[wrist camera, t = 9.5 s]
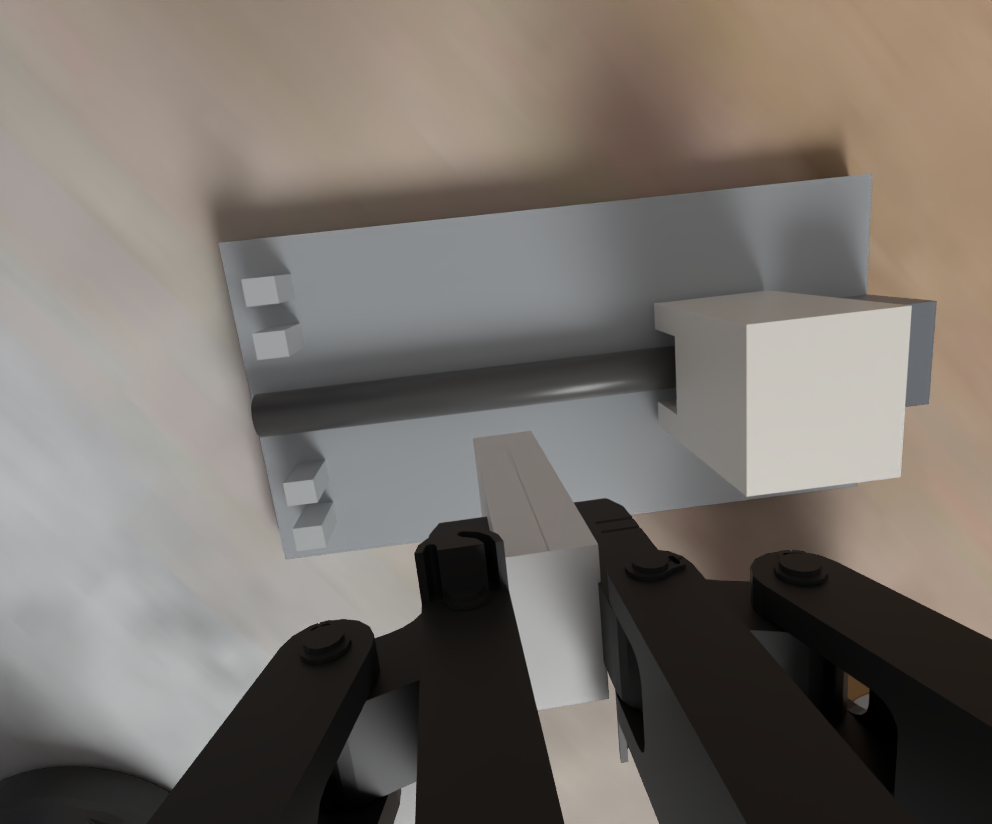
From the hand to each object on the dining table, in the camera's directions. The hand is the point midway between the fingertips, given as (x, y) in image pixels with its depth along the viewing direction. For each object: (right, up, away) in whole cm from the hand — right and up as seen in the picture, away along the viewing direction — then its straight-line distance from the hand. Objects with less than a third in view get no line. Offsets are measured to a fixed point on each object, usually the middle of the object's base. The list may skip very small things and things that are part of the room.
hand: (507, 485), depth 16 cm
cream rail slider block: (+9, +4, +11) cm, 15 cm away
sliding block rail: (+3, +4, +12) cm, 13 cm away
